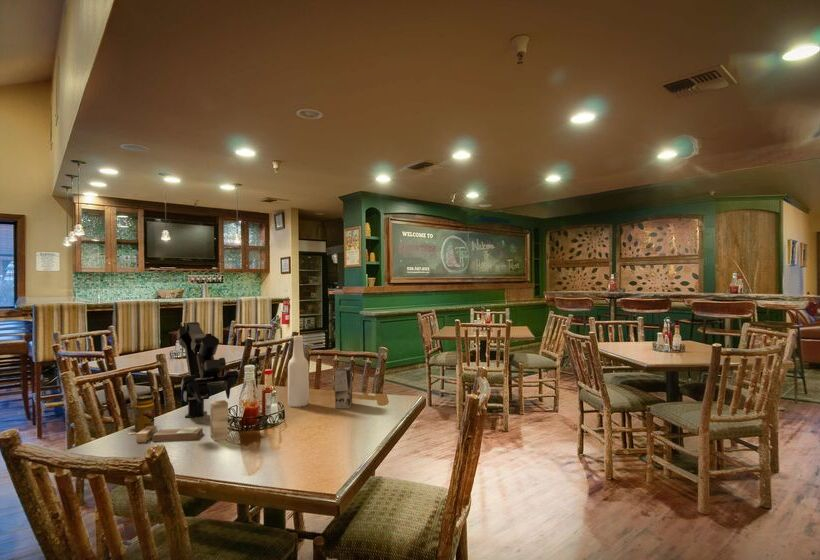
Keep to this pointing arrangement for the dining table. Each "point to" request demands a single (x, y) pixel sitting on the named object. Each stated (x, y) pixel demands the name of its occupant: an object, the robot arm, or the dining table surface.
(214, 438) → the birch post
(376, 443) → the dining table surface
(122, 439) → the dining table surface
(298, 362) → the alcohol
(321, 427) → the dining table surface
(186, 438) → the flat wooden block
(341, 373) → the coffee box
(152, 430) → the lintel
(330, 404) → the dining table surface
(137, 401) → the condiment
